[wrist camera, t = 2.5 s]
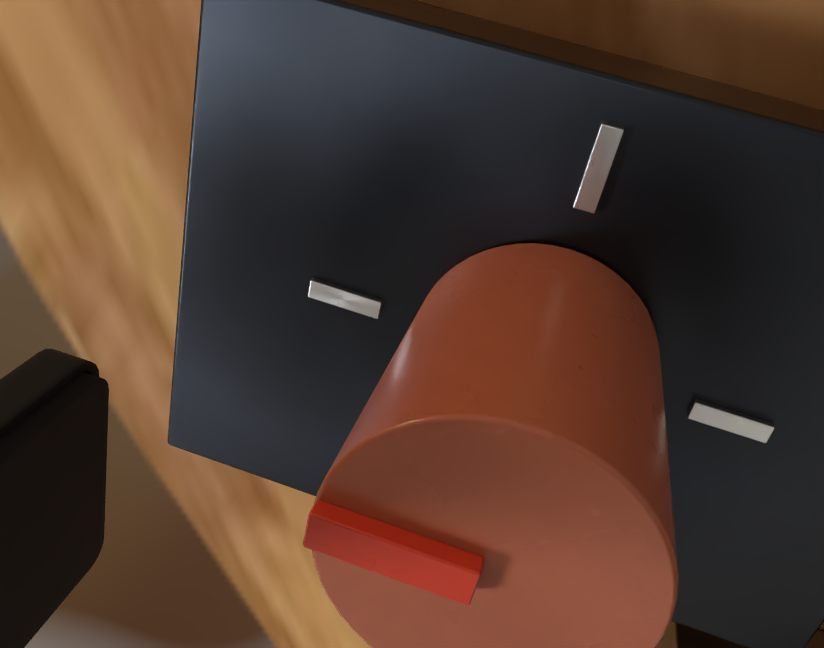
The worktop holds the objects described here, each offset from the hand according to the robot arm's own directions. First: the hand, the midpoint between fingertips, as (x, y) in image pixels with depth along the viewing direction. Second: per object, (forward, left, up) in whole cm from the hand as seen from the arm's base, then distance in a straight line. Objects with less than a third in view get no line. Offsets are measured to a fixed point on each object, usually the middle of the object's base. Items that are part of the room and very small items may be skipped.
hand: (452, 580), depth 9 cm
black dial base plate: (0, 0, -8) cm, 8 cm away
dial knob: (0, 0, -6) cm, 6 cm away
